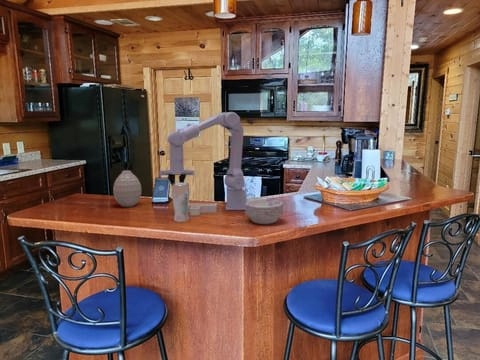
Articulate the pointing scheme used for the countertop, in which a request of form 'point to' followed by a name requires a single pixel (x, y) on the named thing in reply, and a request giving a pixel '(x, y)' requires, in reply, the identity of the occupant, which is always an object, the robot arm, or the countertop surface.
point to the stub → (195, 211)
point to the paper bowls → (264, 210)
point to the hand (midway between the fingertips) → (177, 191)
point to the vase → (127, 189)
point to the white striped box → (204, 207)
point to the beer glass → (180, 201)
